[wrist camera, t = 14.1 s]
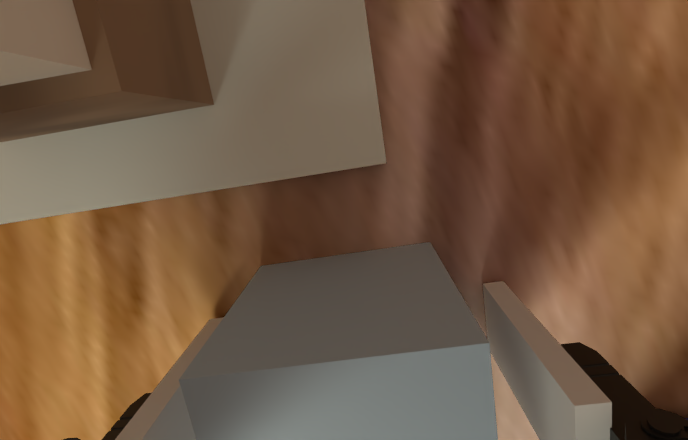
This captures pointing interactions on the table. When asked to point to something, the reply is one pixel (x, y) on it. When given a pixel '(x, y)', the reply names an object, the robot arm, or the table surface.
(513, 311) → the robot arm
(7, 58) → the brick
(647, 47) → the table surface
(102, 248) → the table surface
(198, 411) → the brick
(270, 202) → the table surface
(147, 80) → the base brick
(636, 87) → the table surface
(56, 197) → the plate
